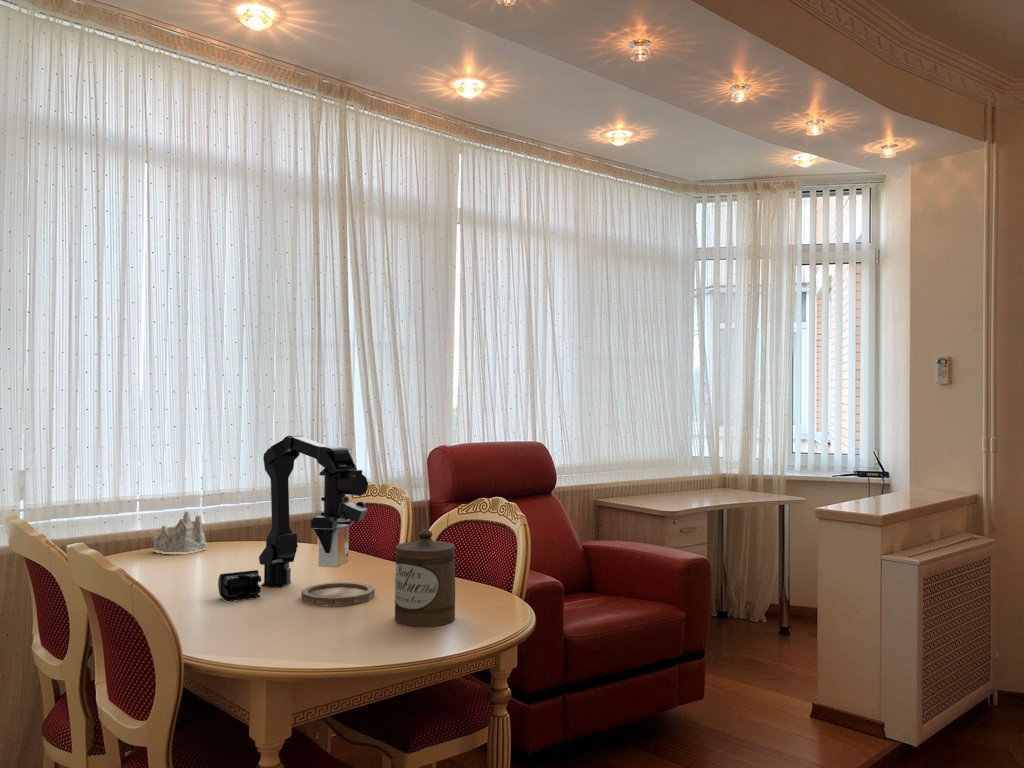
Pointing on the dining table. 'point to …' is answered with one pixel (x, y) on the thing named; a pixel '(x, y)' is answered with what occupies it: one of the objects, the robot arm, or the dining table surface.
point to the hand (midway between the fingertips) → (333, 550)
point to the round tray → (337, 593)
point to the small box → (336, 548)
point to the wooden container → (425, 582)
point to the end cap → (239, 585)
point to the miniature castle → (181, 536)
